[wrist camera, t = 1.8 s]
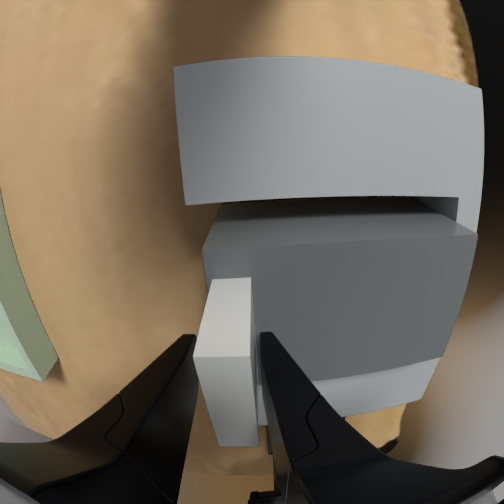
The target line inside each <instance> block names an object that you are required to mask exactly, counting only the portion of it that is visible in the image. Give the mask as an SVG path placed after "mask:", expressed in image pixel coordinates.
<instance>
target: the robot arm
mask: <svg viewBox="0 0 504 504" xmlns="http://www.w3.org/2000/svg"><path fill="white" fill-rule="evenodd" d="M196 341H197V338H196V335H194V334H183V335H182V336H181V337H179V338H178V339H177V340H176V341H175V342H174V343H173V344H172V345H171V346H170V347H169V348H167V349H166V350H165V351H164V352H163V353H162V354H161V355H160V356H159V357H158V358H156V359H155V360H154V361H153V362H152V363H151V364H150V365H149V366H148V367H147V368H145V369H144V370H143V371H142V372H141V373H140V374H139V375H138V376H137V377H136V378H134V379H133V380H132V381H131V382H130V383H129V384H128V385H127V386H126V387H124V388H123V389H122V390H121V391H120V392H119V394H116V395H115V396H114V397H113V398H112V399H111V400H110V401H109V402H107V403H106V404H105V405H104V406H103V407H101V408H100V409H99V410H98V411H96V412H95V413H94V414H92V415H91V416H90V417H88V418H87V419H85V420H84V421H83V422H81V423H80V424H78V425H77V426H75V427H74V428H73V429H71V430H70V431H68V432H67V433H65V434H64V435H62V436H61V437H59V438H57V439H55V440H52V441H49V442H42V443H2V442H0V504H177V500H178V495H179V489H180V484H181V478H182V473H183V468H184V463H185V457H186V452H187V447H188V442H189V437H190V432H191V427H192V422H193V417H194V412H195V407H196V402H197V396H198V383H199V378H198V375H197V371H196V367H195V364H194V360H193V354H194V349H195V345H196ZM259 355H260V369H261V383H262V396H263V403H264V408H265V413H266V419H267V424H268V425H266V427H267V443H268V454H270V455H273V473H274V491H265V492H258V491H255V492H251V494H250V500H248V504H504V499H503V500H502V501H500V502H499V503H497V501H496V499H495V496H494V494H493V491H492V490H493V489H494V488H495V487H497V486H498V485H499V484H500V483H502V482H503V481H504V457H500V456H491V457H488V458H487V459H485V460H483V461H481V462H479V463H478V464H476V465H474V466H471V467H469V468H464V469H455V470H454V469H444V468H437V467H432V466H426V465H421V464H416V463H412V462H407V461H403V460H398V459H394V458H392V457H390V456H388V455H386V454H384V453H383V452H381V451H380V450H379V449H377V448H376V447H375V446H374V445H373V444H371V443H370V442H369V441H368V440H367V439H366V438H364V437H363V436H362V435H361V434H360V433H359V432H358V431H356V430H355V429H354V428H353V427H352V426H351V425H350V424H349V423H347V422H346V421H345V417H346V416H345V417H341V416H340V415H339V414H338V413H337V412H336V411H335V410H334V408H333V407H332V406H331V405H330V404H329V403H328V402H327V400H326V399H325V398H324V397H323V395H321V393H320V392H319V391H318V389H317V388H316V387H315V386H314V384H313V383H312V382H311V381H310V379H309V378H308V377H307V376H306V374H305V373H304V372H303V371H302V369H301V368H300V367H299V365H298V364H297V363H296V362H295V360H294V359H293V358H292V357H291V355H290V354H289V353H288V351H287V350H286V349H285V348H284V346H283V345H282V344H281V342H280V341H279V340H278V339H277V337H276V336H275V335H274V333H273V332H271V331H268V332H260V333H259Z"/></svg>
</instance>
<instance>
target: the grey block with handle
mask: <svg viewBox="0 0 504 504" xmlns="http://www.w3.org/2000/svg"><path fill="white" fill-rule="evenodd" d="M477 238H478V234H476V233H475V232H473V231H471V230H470V229H468V228H466V227H464V226H463V225H461V224H459V223H457V222H455V221H454V220H452V219H450V218H448V217H446V216H444V215H443V214H441V213H439V212H437V211H435V210H433V209H431V208H429V207H427V206H425V205H423V204H421V203H419V202H417V201H415V200H413V199H411V198H338V199H306V200H283V201H265V202H248V203H233V204H222V205H221V207H220V209H219V211H218V214H217V216H216V218H215V220H214V223H213V225H212V227H211V229H210V232H209V234H208V236H207V239H206V241H205V243H204V246H203V248H202V256H203V263H204V270H205V276H206V283H207V289H208V298H207V302H206V305H205V309H204V313H203V317H202V321H201V325H200V329H199V333H198V337H197V341H196V345H195V349H194V354H193V360H194V364H195V367H196V371H197V375H198V378H199V382H200V385H201V389H202V392H203V396H204V399H205V402H206V406H207V409H208V412H209V415H210V419H211V422H212V425H213V428H214V431H215V434H216V437H217V440H218V443H219V446H226V447H247V446H259V394H258V386H259V385H262V383H261V369H260V355H259V333H260V332H268V331H271V332H273V333H274V335H275V336H276V337H277V339H278V340H279V341H280V342H281V344H282V345H283V346H284V348H285V349H286V350H287V351H288V353H289V354H290V355H291V357H292V358H293V359H294V360H295V362H296V363H297V364H298V365H299V367H300V368H301V369H302V371H303V372H304V373H305V374H306V376H307V377H308V378H309V379H310V381H320V380H328V379H336V378H343V377H350V376H356V375H362V374H368V373H373V372H379V371H384V370H389V369H394V368H398V367H403V366H407V365H412V364H416V363H420V362H424V361H428V360H432V359H435V358H439V357H442V356H443V354H444V352H445V349H446V347H447V344H448V341H449V339H450V336H451V333H452V331H453V328H454V325H455V322H456V319H457V316H458V313H459V310H460V307H461V304H462V301H463V297H464V294H465V290H466V287H467V283H468V279H469V275H470V271H471V267H472V263H473V258H474V253H475V249H476V244H477Z"/></svg>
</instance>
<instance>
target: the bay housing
mask: <svg viewBox="0 0 504 504" xmlns="http://www.w3.org/2000/svg"><path fill="white" fill-rule="evenodd" d="M173 73H174V91H175V106H176V119H177V131H178V142H179V153H180V162H181V172H182V181H183V189H184V197H185V205H196V204H207V203H220V202H233V201H247V200H264V199H282V198H304V197H336V196H414V200H415V201H417V202H419V203H421V204H423V205H425V206H427V207H429V208H431V209H433V210H435V211H437V212H439V213H441V214H443V215H444V216H446V217H448V218H450V219H452V220H454V221H455V222H457V223H459V224H461V225H463V226H464V227H466V228H468V229H470V230H471V231H473V232H475V233H476V231H477V225H478V218H479V211H480V202H481V193H482V182H483V166H484V119H483V118H484V116H483V102H482V90H481V89H480V88H477V87H474V86H471V85H468V84H465V83H462V82H459V81H456V80H453V79H449V78H446V77H442V76H438V75H435V74H431V73H427V72H422V71H418V70H414V69H409V68H404V67H399V66H393V65H388V64H382V63H375V62H368V61H360V60H351V59H341V58H327V57H306V56H269V57H248V58H234V59H224V60H215V61H207V62H199V63H192V64H186V65H180V66H175V67H173ZM439 359H440V357H439V358H435V359H432V360H428V361H424V362H420V363H416V364H412V365H407V366H403V367H398V368H394V369H389V370H384V371H379V372H373V373H368V374H362V375H356V376H350V377H343V378H336V379H328V380H320V381H311V382H312V383H313V384H314V386H315V387H316V388H317V389H318V391H319V392H320V393H321V395H323V397H324V398H325V399H326V400H327V402H328V403H329V404H330V405H331V406H332V407H333V408H334V410H335V411H336V412H337V413H338V414H339V415H340V416H341V417H345V416H351V415H356V414H362V413H367V412H371V411H376V410H381V409H385V408H389V407H393V406H397V405H401V404H405V403H409V402H412V401H415V400H419V399H421V397H422V396H423V393H424V391H425V389H426V387H427V385H428V383H429V381H430V379H431V377H432V375H433V372H434V370H435V368H436V366H437V363H438V361H439ZM258 394H259V425H268V424H267V419H266V413H265V408H264V403H263V396H262V385H259V386H258Z"/></svg>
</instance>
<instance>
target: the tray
mask: <svg viewBox="0 0 504 504" xmlns="http://www.w3.org/2000/svg"><path fill="white" fill-rule="evenodd" d="M58 358H59V357H58V355H57V354H56V352H55V350H54V348H53V346H52V344H51V342H50V340H49V338H48V336H47V334H46V332H45V330H44V327H43V325H42V323H41V321H40V319H39V316H38V314H37V312H36V309H35V307H34V305H33V302H32V300H31V297H30V295H29V292H28V289H27V287H26V284H25V281H24V279H23V276H22V273H21V270H20V267H19V264H18V261H17V257H16V254H15V251H14V247H13V244H12V240H11V237H10V233H9V229H8V225H7V221H6V216H5V212H4V207H3V202H2V197H1V191H0V368H1V369H3V370H6V371H9V372H12V373H15V374H19V375H22V376H25V377H28V378H32V379H35V380H39V381H44V379H45V378H46V376H47V375H48V373H49V372H50V370H51V369H52V367H53V366H54V364H55V363H56V361H57V360H58Z"/></svg>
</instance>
